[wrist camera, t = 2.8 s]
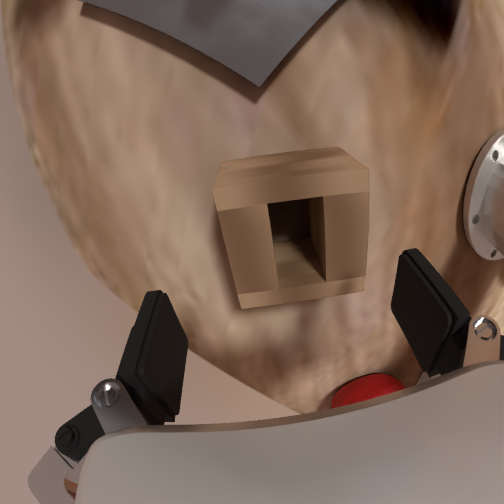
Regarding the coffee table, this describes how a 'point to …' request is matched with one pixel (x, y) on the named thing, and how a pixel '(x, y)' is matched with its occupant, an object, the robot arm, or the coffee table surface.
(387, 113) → the coffee table surface
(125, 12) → the post stand
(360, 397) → the pomegranate
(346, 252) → the slotted wooden cube
